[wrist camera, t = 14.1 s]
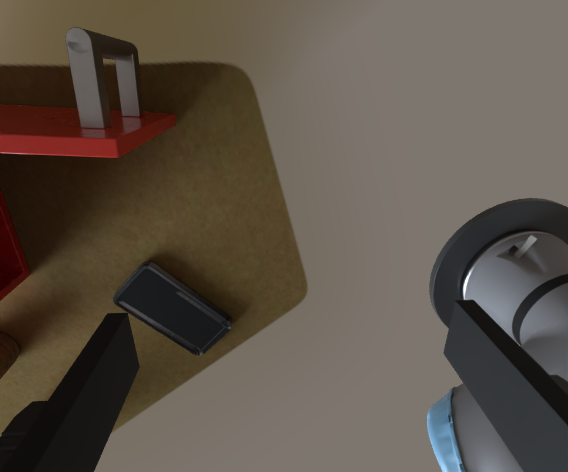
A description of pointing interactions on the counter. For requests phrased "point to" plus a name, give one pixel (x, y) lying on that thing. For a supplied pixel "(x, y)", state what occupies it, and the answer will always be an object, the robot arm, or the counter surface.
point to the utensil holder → (7, 353)
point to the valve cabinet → (10, 254)
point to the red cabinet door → (87, 107)
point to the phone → (172, 309)
